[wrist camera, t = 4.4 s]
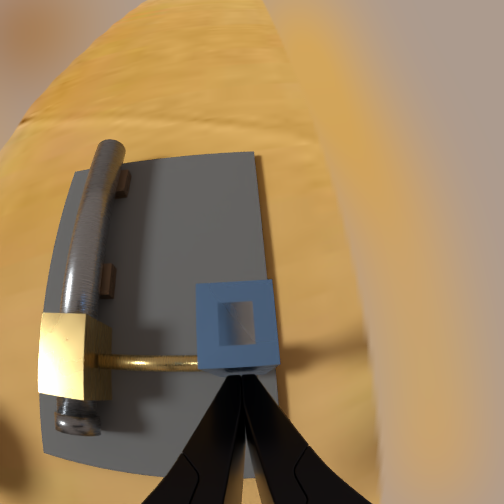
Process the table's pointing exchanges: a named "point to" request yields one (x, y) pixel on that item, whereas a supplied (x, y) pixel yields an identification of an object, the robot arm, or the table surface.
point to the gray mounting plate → (161, 302)
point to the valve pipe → (91, 310)
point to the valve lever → (236, 328)
